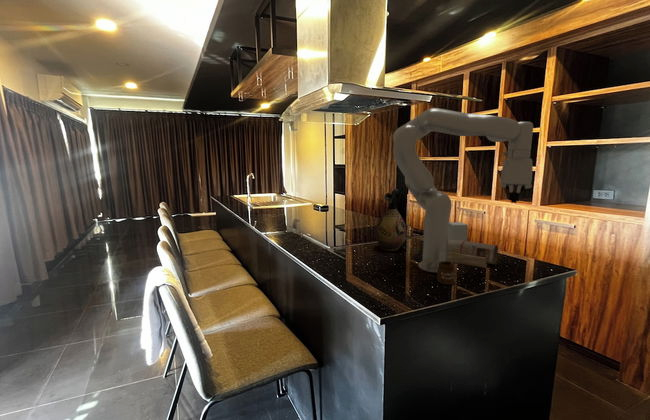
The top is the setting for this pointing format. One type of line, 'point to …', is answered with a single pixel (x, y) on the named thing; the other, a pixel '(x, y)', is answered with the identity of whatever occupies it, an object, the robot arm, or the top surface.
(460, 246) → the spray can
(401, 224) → the ceramic jug
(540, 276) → the top surface
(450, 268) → the utensil holder
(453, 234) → the supplement box
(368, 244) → the top surface
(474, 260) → the u-rest
